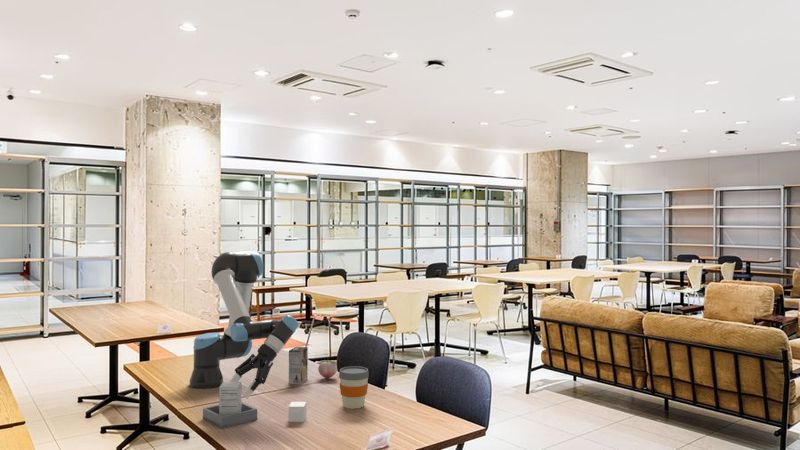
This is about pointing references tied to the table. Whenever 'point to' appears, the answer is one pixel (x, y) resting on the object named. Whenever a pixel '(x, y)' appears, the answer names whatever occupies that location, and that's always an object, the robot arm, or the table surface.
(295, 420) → the white cube
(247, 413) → the tray
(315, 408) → the table surface
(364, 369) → the reusable coffee cup
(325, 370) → the decorative fruit
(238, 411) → the supplement box
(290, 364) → the coffee box
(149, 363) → the table surface
